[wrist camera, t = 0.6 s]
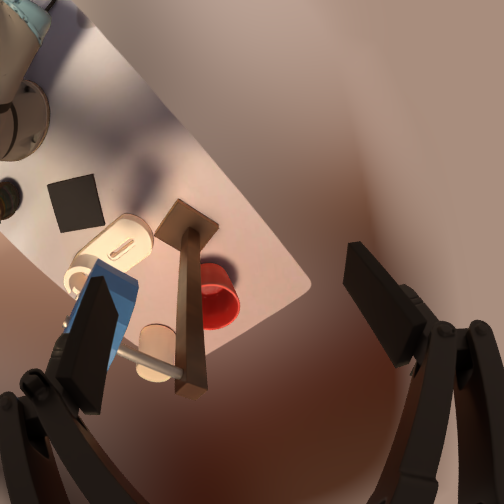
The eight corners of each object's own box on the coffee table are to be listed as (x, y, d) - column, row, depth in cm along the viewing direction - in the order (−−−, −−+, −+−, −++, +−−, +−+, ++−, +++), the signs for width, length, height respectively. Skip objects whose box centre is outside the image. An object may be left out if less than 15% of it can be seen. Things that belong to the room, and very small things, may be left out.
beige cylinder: (176, 363, 59) (179, 328, 68) (134, 356, 57) (141, 321, 66) (171, 390, 64) (173, 357, 73) (133, 384, 62) (139, 351, 71)
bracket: (94, 290, 60) (87, 310, 54) (66, 263, 56) (56, 281, 50) (161, 240, 57) (158, 259, 51) (132, 206, 52) (124, 222, 47)
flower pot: (173, 288, 63) (171, 320, 55) (197, 247, 59) (197, 276, 51) (218, 305, 67) (222, 337, 59) (244, 267, 63) (251, 297, 55)
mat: (48, 184, 47) (46, 185, 46) (93, 173, 48) (92, 174, 48) (61, 231, 52) (60, 233, 52) (105, 224, 53) (104, 225, 53)
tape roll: (72, 309, 31) (45, 384, 22) (107, 239, 28) (73, 315, 18) (104, 326, 33) (86, 403, 23) (145, 260, 29) (127, 342, 20)
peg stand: (118, 210, 52) (49, 358, 23) (140, 174, 50) (71, 306, 20) (194, 255, 60) (200, 417, 30) (218, 224, 57) (244, 382, 28)
